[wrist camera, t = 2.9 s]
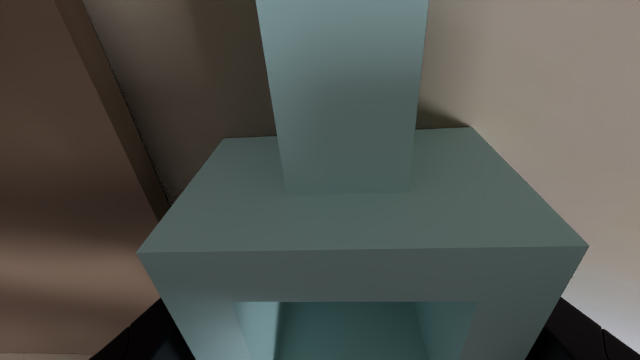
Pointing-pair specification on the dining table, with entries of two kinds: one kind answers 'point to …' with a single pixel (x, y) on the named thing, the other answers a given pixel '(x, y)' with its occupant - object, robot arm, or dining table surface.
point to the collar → (357, 213)
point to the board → (68, 187)
